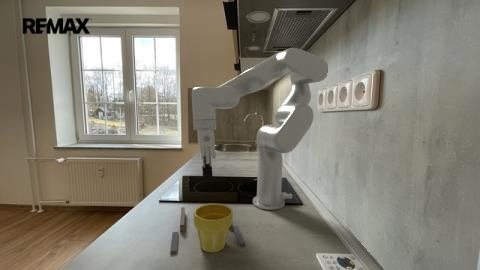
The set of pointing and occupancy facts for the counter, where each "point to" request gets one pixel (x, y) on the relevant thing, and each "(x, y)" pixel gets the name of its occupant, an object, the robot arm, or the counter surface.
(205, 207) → the plant pot
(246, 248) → the counter surface
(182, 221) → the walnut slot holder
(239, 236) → the rubber strips
